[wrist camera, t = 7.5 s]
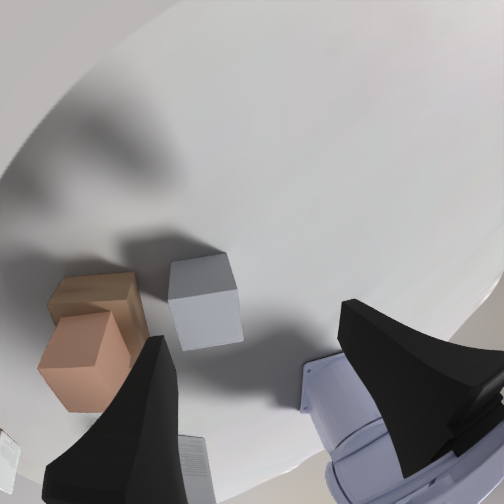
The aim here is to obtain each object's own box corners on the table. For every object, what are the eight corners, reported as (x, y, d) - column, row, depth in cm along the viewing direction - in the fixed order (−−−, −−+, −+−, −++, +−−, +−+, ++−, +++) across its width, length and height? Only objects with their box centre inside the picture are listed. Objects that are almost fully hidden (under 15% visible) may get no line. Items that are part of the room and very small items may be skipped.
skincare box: (195, 456, 32) (206, 530, 22) (164, 453, 31) (171, 529, 20) (206, 437, 30) (221, 521, 20) (172, 433, 29) (180, 521, 18)
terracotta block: (130, 356, 18) (123, 411, 14) (83, 360, 18) (69, 412, 13) (111, 310, 17) (94, 366, 12) (61, 317, 16) (36, 368, 12)
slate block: (232, 299, 23) (244, 341, 18) (181, 307, 22) (182, 351, 18) (226, 252, 21) (237, 289, 16) (171, 261, 20) (167, 300, 16)
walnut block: (149, 333, 23) (146, 367, 19) (86, 336, 22) (75, 368, 18) (135, 269, 20) (126, 299, 17) (65, 275, 19) (46, 303, 15)
